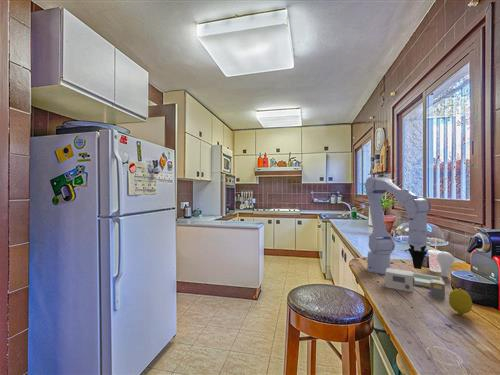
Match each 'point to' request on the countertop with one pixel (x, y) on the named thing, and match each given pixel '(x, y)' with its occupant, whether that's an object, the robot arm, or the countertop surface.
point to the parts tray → (424, 279)
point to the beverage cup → (434, 260)
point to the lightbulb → (445, 262)
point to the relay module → (437, 288)
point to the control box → (400, 279)
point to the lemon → (460, 301)
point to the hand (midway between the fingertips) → (417, 265)
